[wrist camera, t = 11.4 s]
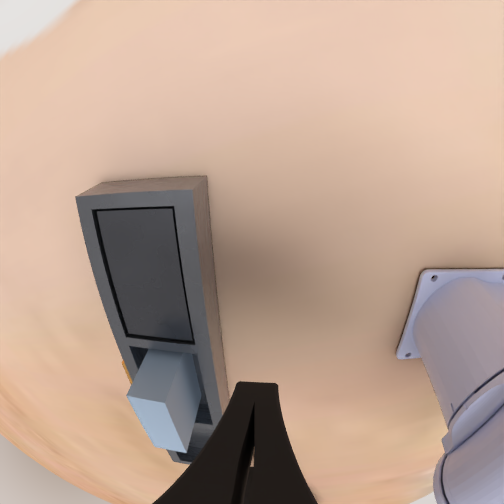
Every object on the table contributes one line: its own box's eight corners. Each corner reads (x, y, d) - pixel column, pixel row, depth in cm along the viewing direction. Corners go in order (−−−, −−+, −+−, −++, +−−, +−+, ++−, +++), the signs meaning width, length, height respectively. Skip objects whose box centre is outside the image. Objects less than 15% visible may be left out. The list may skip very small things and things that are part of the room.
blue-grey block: (188, 338, 21) (165, 403, 16) (201, 395, 24) (186, 452, 19) (155, 334, 21) (126, 395, 16) (173, 391, 24) (154, 446, 19)
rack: (206, 175, 17) (192, 189, 14) (236, 448, 30) (233, 470, 27) (94, 183, 17) (67, 197, 15) (174, 440, 31) (168, 460, 28)
